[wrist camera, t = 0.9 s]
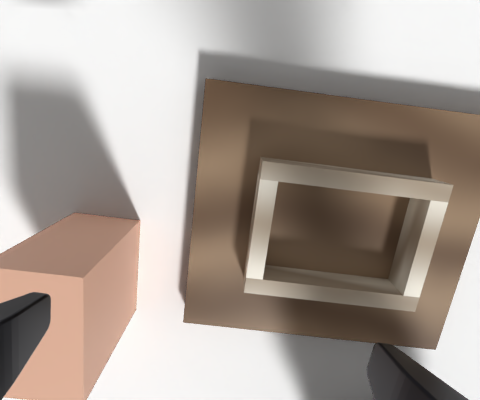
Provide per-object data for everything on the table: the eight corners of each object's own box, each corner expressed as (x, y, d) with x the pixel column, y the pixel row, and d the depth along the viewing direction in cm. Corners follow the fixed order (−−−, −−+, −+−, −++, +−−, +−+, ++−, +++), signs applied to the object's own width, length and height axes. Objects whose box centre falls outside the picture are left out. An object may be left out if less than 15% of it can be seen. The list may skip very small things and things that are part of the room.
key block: (136, 309, 23) (83, 404, 15) (75, 302, 23) (-10, 395, 15) (140, 220, 21) (83, 277, 14) (74, 212, 21) (-22, 266, 13)
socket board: (423, 335, 24) (454, 371, 20) (186, 309, 23) (177, 342, 20) (492, 119, 20) (545, 119, 16) (208, 81, 19) (201, 73, 16)
